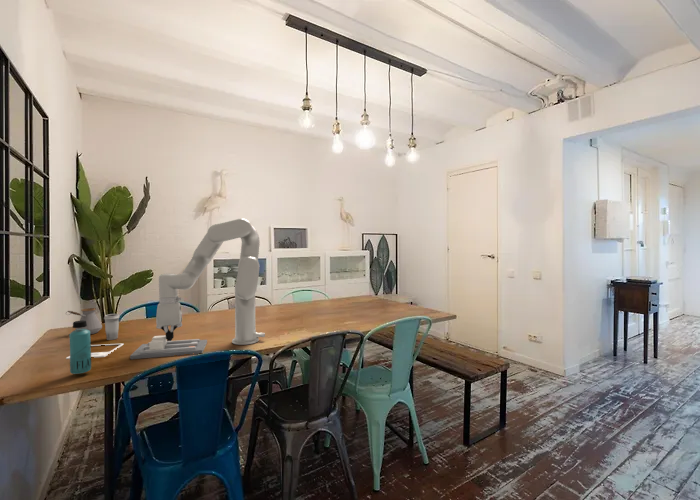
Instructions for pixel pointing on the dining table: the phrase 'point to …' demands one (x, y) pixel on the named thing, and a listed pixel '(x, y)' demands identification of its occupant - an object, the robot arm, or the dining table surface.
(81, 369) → the beverage bottle
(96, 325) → the coffee pot
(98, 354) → the photo frame
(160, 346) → the switch tab
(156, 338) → the switch tab
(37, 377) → the dining table surface
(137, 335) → the dining table surface
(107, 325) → the cup
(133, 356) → the switch panel
